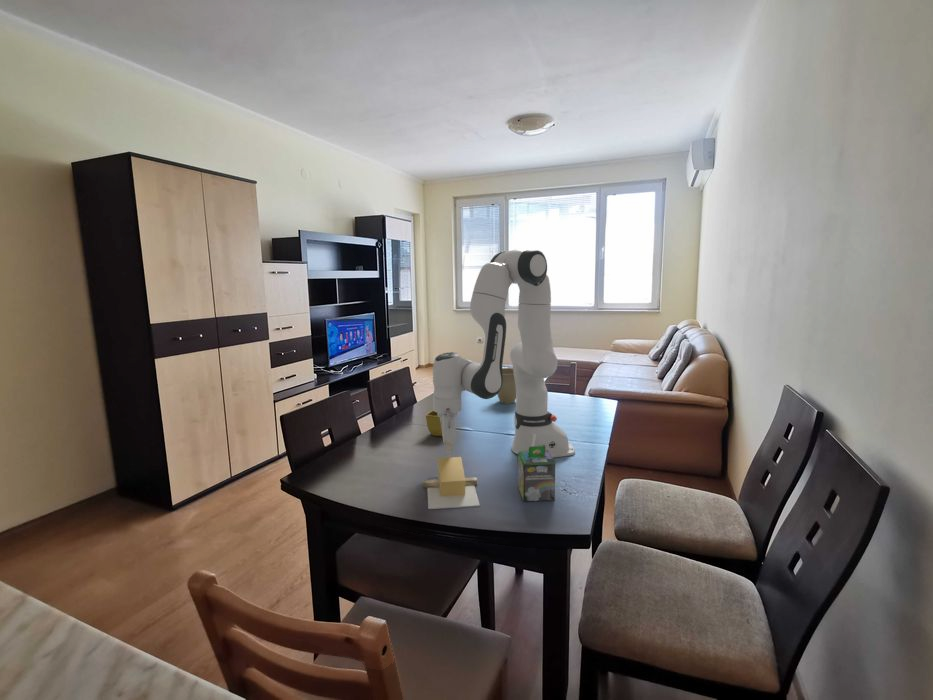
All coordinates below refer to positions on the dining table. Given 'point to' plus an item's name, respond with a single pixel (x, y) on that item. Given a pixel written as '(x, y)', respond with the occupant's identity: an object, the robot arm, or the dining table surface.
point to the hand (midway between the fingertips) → (447, 446)
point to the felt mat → (452, 499)
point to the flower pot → (434, 423)
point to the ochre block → (451, 476)
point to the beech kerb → (436, 484)
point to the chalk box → (536, 474)
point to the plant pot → (507, 387)
